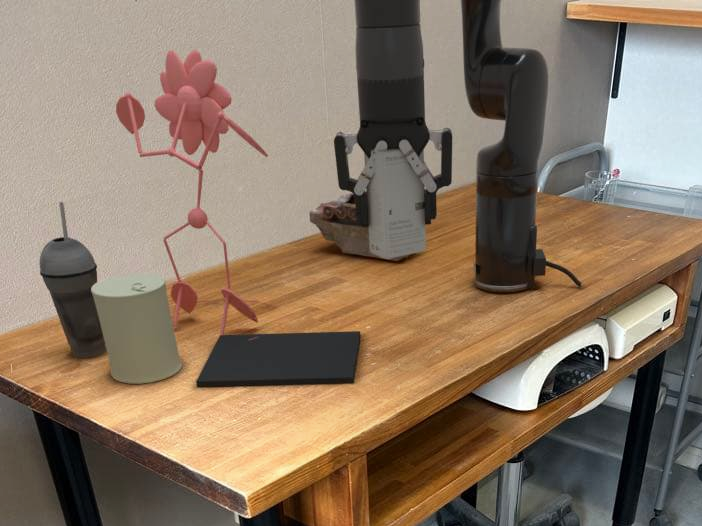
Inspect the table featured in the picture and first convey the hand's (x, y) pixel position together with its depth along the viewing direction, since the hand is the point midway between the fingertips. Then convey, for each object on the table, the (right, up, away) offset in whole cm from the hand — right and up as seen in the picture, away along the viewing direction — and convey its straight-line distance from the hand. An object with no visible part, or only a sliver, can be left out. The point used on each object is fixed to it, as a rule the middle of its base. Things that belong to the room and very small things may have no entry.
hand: (397, 223), depth 105 cm
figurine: (-25, -6, +23) cm, 35 cm away
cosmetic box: (0, -3, +2) cm, 4 cm away
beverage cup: (-43, -13, +15) cm, 48 cm away
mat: (-15, -15, +10) cm, 24 cm away
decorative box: (-7, +13, +50) cm, 52 cm away
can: (-33, -16, +9) cm, 38 cm away
